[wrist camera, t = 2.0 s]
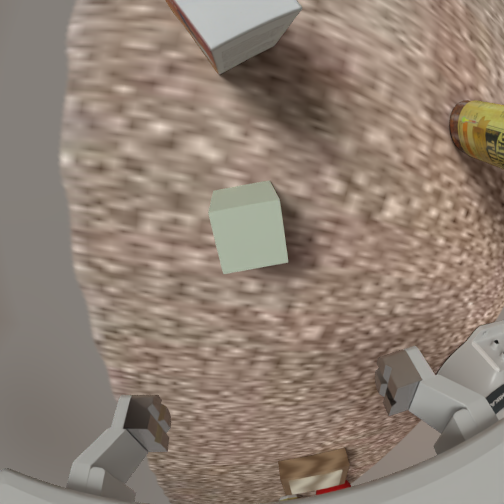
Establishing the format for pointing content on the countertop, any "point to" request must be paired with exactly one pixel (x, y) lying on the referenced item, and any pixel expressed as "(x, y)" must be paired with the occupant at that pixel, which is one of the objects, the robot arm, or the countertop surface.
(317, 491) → the fruit
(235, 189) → the block
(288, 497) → the ceramic cup
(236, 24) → the small box
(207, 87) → the countertop surface
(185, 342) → the countertop surface
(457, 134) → the sauce bottle
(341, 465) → the base
